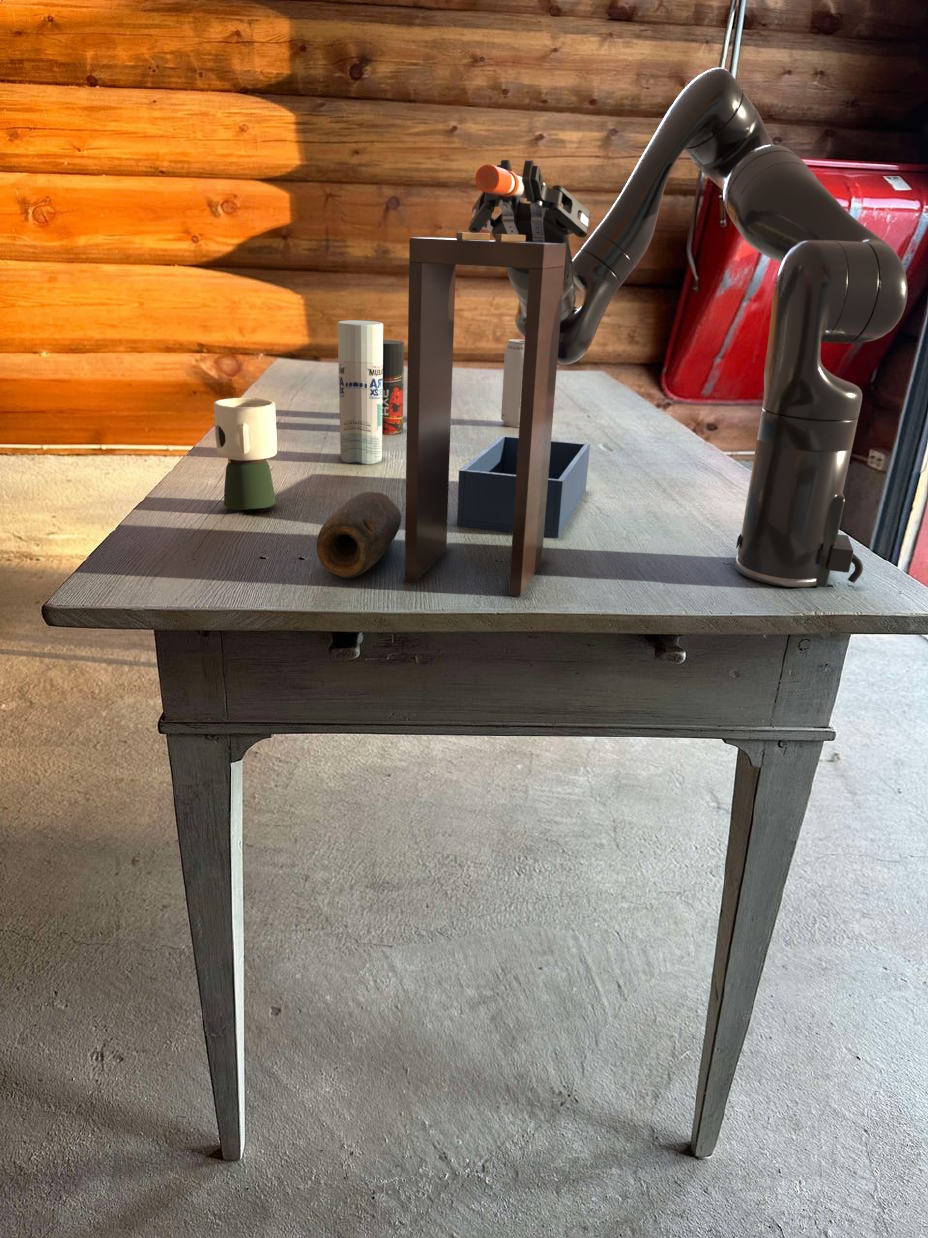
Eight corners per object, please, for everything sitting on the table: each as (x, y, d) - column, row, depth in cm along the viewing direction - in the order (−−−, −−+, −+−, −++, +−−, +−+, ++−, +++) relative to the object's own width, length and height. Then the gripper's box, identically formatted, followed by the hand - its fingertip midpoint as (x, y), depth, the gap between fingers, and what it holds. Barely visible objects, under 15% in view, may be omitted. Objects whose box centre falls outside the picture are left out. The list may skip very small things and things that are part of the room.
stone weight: (383, 587, 90) (384, 522, 87) (313, 583, 90) (312, 518, 88) (403, 540, 104) (404, 482, 101) (342, 536, 104) (342, 479, 102)
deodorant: (372, 434, 156) (372, 343, 150) (366, 427, 161) (365, 339, 155) (406, 433, 158) (407, 343, 152) (398, 426, 163) (399, 339, 157)
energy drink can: (515, 420, 173) (520, 338, 167) (539, 425, 169) (545, 341, 163) (494, 423, 169) (498, 339, 163) (518, 429, 165) (524, 343, 159)
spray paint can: (345, 453, 142) (344, 319, 134) (386, 456, 142) (387, 321, 134) (334, 462, 136) (332, 323, 129) (377, 465, 136) (377, 325, 128)
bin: (585, 492, 126) (590, 443, 124) (558, 537, 107) (562, 481, 104) (498, 483, 129) (501, 435, 127) (456, 525, 110) (458, 470, 107)
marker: (499, 192, 79) (500, 164, 78) (474, 191, 79) (475, 163, 79) (537, 200, 94) (538, 177, 94) (516, 200, 95) (517, 177, 94)
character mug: (223, 496, 117) (216, 394, 112) (280, 496, 118) (275, 394, 113) (217, 521, 107) (209, 410, 102) (278, 521, 109) (274, 411, 104)
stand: (541, 561, 99) (566, 236, 86) (520, 597, 89) (545, 235, 76) (436, 548, 102) (445, 231, 89) (404, 581, 92) (409, 229, 79)
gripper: (486, 228, 107) (453, 131, 90) (603, 233, 103) (592, 133, 87) (475, 289, 106) (440, 201, 89) (593, 295, 103) (580, 206, 86)
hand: (515, 168), depth 88 cm, fingers closed on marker, 2 cm apart
